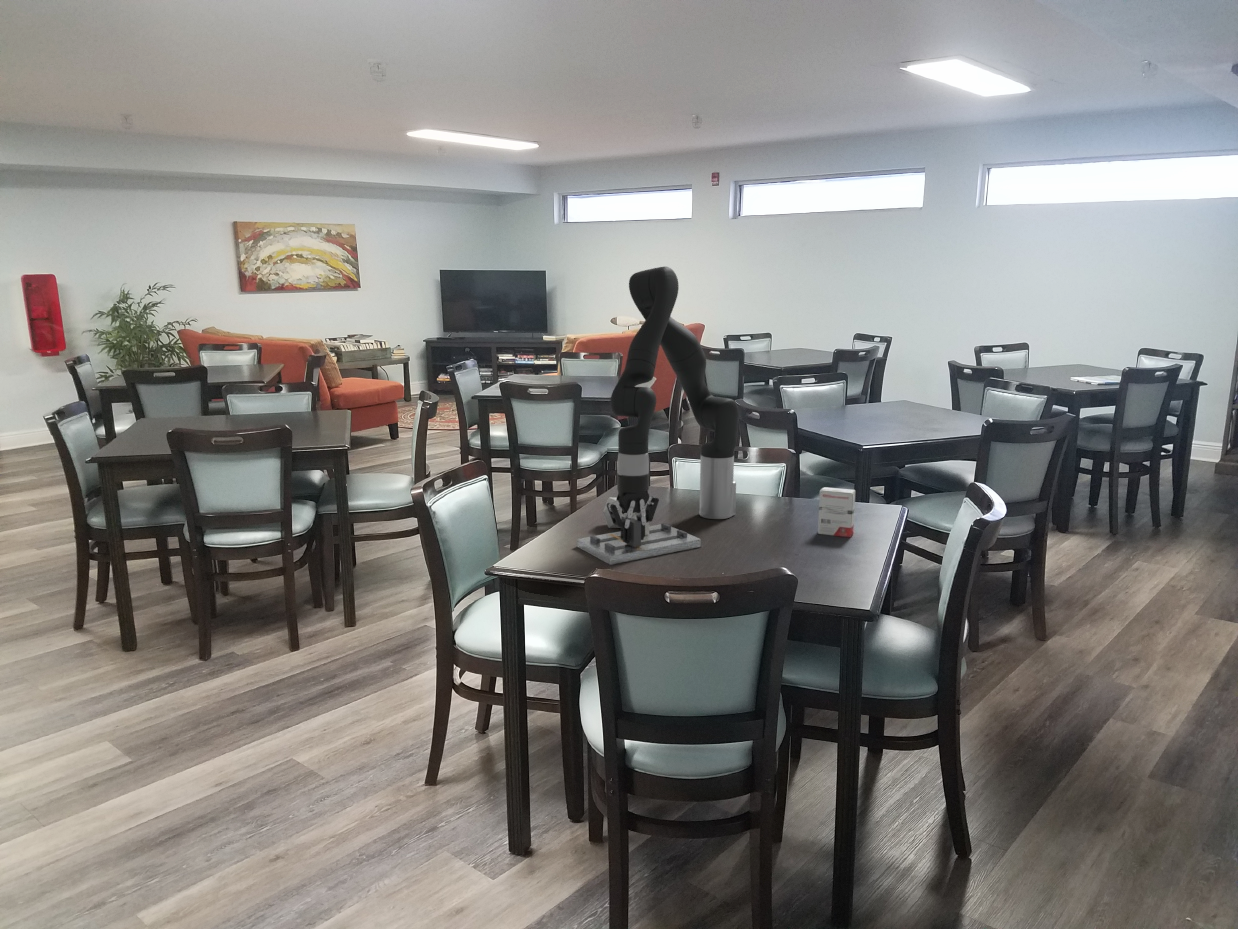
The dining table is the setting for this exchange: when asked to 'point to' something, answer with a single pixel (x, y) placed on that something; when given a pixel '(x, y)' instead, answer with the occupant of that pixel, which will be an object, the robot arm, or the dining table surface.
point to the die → (607, 515)
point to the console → (653, 544)
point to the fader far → (645, 526)
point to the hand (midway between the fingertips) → (632, 540)
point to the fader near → (635, 533)
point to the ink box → (836, 512)
